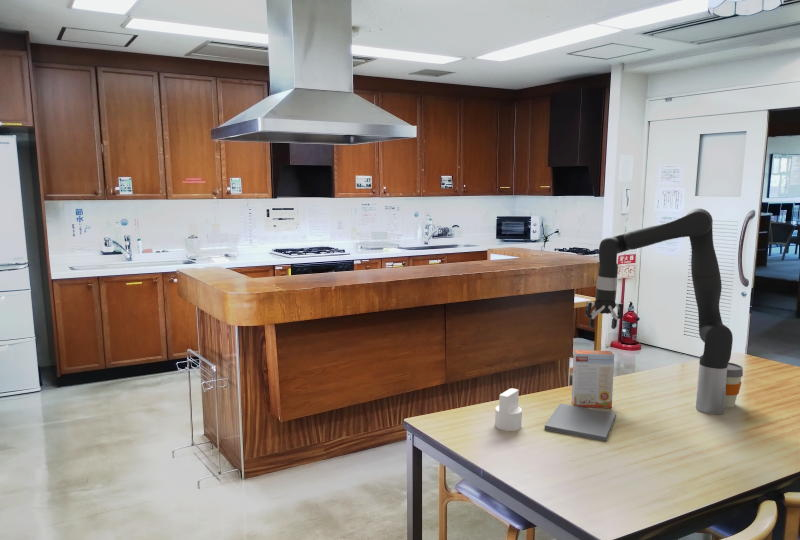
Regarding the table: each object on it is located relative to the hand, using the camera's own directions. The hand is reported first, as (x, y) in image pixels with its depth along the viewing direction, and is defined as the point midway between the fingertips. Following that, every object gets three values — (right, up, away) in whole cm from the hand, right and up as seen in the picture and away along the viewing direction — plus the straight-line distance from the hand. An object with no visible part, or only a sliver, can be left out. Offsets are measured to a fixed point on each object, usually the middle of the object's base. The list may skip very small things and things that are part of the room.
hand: (602, 328), depth 234 cm
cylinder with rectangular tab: (-43, -31, -29) cm, 61 cm away
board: (-17, -31, -27) cm, 44 cm away
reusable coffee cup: (+43, -28, -7) cm, 52 cm away
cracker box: (-8, -29, -10) cm, 31 cm away
